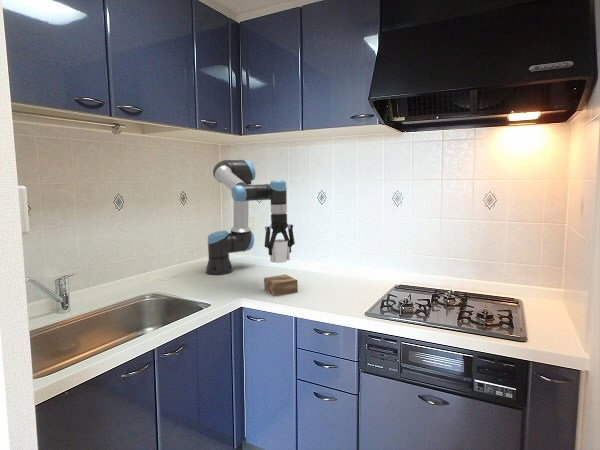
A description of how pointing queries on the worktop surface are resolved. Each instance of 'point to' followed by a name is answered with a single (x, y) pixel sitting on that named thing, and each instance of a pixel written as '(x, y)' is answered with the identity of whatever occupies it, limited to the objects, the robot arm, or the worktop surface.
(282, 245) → the white cup
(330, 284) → the worktop surface
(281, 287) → the walnut box
